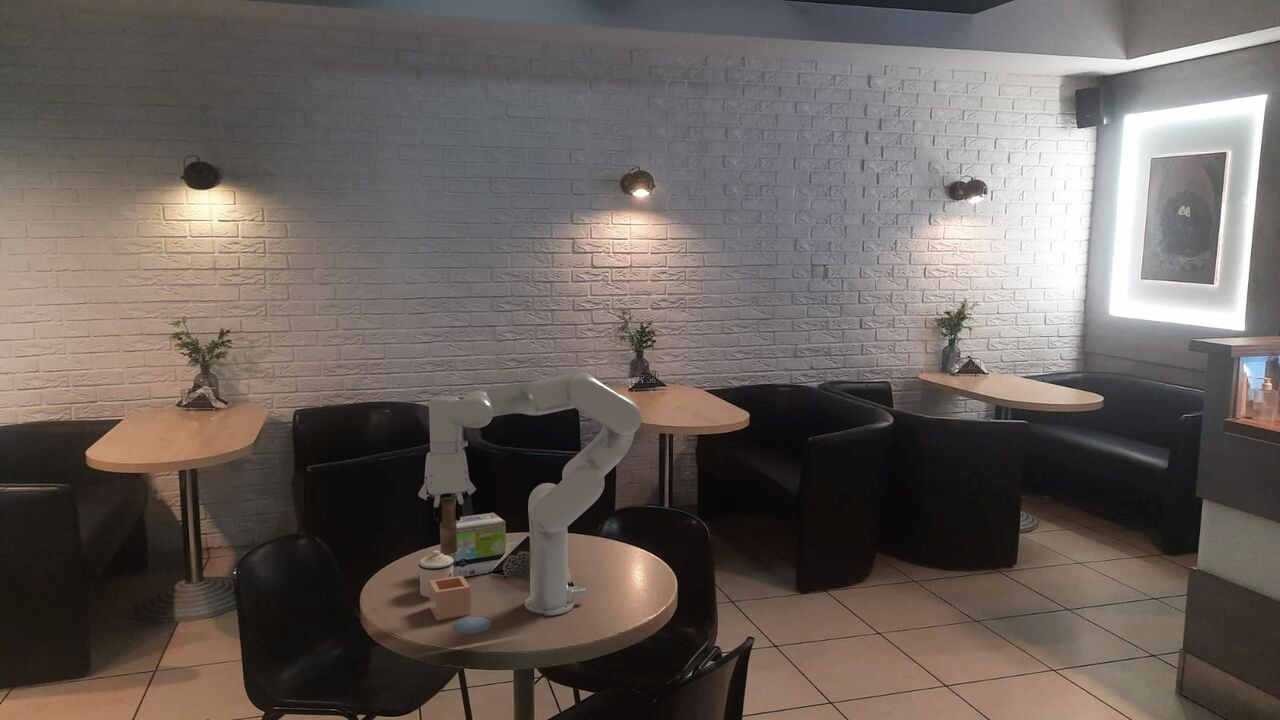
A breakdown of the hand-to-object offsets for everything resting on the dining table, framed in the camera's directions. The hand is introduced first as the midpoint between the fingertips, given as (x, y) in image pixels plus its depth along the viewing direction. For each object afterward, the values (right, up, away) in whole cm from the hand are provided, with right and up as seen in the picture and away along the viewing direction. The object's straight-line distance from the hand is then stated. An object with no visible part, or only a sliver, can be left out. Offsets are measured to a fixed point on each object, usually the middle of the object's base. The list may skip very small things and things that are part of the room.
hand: (448, 519), depth 215 cm
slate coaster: (+7, -25, -5) cm, 27 cm away
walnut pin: (0, -8, +1) cm, 8 cm away
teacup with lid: (-6, -23, +17) cm, 29 cm away
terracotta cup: (0, -24, +3) cm, 24 cm away
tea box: (0, -21, +33) cm, 39 cm away
